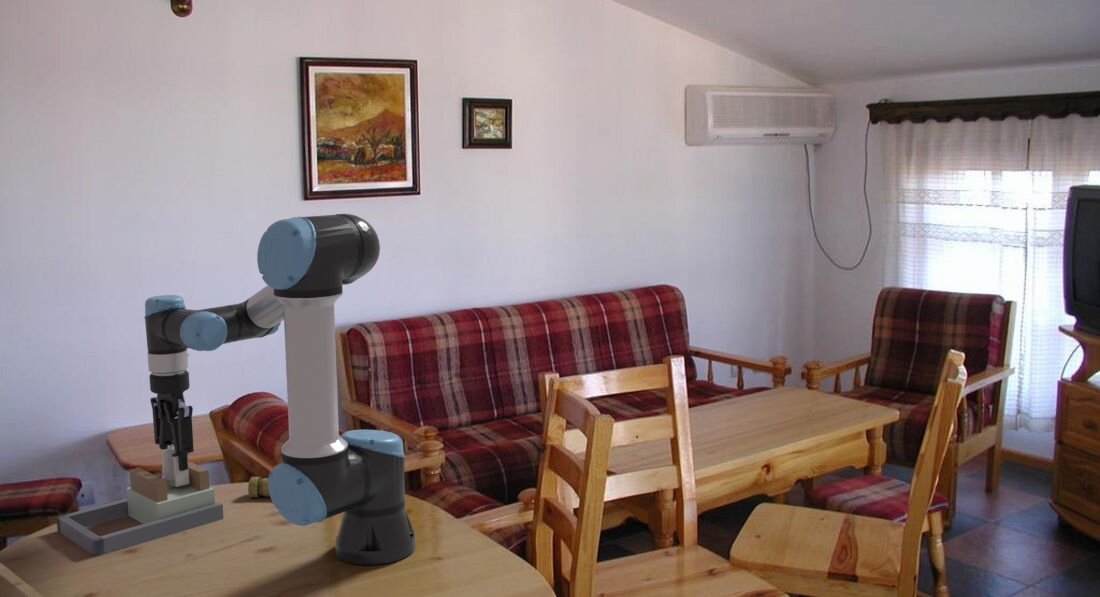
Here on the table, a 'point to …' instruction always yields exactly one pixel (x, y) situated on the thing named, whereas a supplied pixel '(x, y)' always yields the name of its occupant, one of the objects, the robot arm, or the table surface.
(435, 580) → the table surface
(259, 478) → the gavel
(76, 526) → the bay
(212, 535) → the table surface
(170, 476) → the rook chess piece
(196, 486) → the mint green base plate
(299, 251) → the robot arm
